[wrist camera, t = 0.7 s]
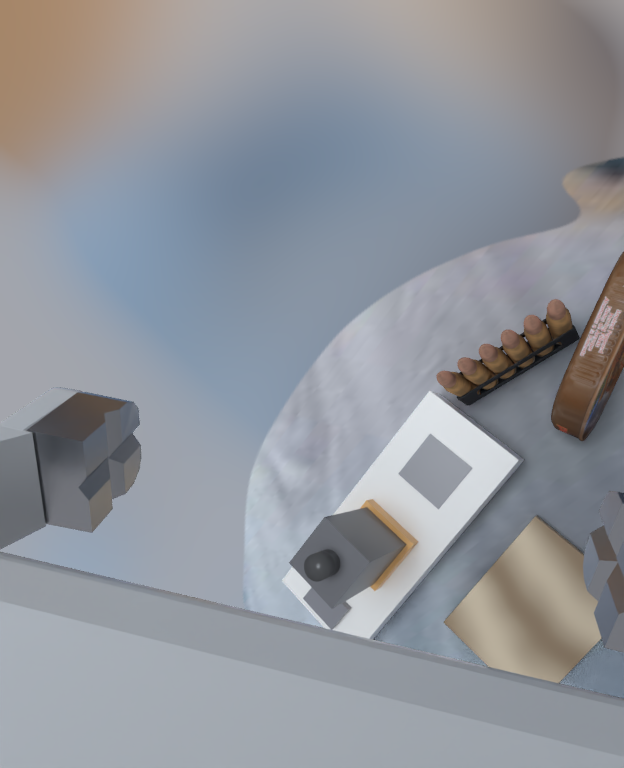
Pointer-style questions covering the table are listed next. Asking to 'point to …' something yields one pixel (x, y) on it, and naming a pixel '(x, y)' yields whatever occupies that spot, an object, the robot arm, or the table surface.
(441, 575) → the table surface
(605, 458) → the table surface
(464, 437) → the power strip
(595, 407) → the tin
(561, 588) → the oak board
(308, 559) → the plug
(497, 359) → the ammunition clip
